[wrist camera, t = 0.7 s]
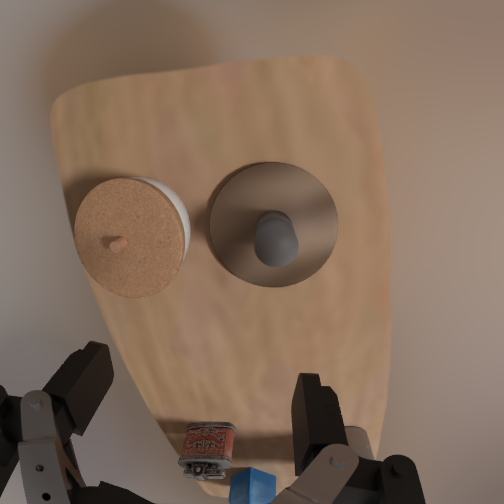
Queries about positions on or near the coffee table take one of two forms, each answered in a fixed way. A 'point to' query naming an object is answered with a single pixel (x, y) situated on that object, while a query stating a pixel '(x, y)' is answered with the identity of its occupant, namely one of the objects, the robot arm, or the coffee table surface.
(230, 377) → the coffee table surface
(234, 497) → the perfume bottle
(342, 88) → the coffee table surface
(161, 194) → the lidded jar
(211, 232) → the walnut lid
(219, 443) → the lighter
